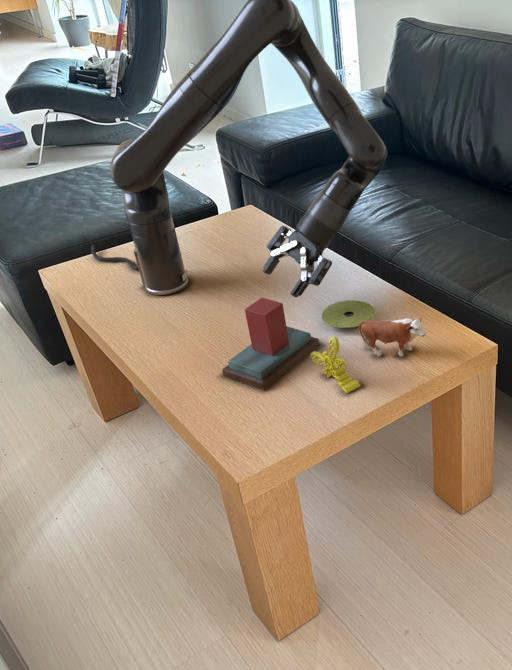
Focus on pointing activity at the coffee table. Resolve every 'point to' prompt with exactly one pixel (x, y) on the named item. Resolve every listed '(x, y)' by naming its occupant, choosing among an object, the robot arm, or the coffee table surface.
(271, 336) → the pillar block
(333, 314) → the mat
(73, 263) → the coffee table surface
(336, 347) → the decorative insect
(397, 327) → the bull figurine
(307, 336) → the blue-grey flat block
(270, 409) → the coffee table surface
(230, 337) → the coffee table surface
